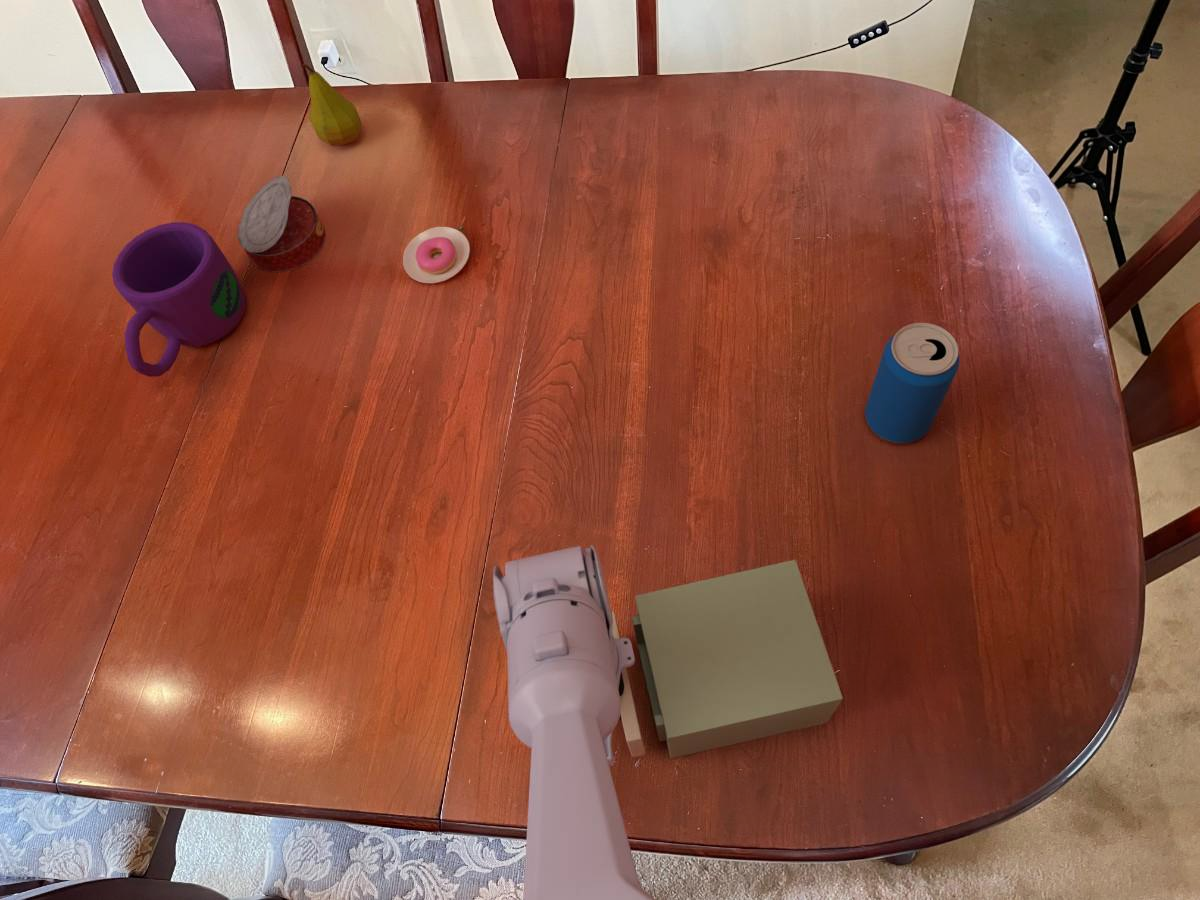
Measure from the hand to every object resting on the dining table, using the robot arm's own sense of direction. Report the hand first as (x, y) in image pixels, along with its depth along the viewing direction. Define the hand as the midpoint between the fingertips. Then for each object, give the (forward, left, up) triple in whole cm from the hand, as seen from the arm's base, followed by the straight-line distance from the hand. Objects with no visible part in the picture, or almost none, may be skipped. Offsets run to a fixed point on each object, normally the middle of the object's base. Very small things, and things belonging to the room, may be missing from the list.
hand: (592, 691), depth 71 cm
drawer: (0, -6, -3) cm, 7 cm away
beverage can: (+21, -35, -4) cm, 41 cm away
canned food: (+64, +27, -4) cm, 70 cm away
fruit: (+81, +19, -4) cm, 83 cm away
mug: (+52, +38, -4) cm, 65 cm away
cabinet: (0, -12, -4) cm, 13 cm away
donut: (+57, +8, -4) cm, 58 cm away
